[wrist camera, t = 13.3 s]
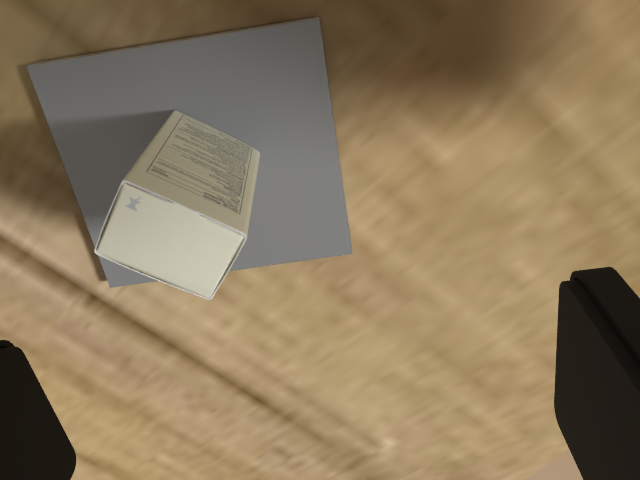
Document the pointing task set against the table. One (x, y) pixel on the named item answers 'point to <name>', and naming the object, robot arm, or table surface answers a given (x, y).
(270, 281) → the table surface
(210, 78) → the slate board
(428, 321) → the table surface
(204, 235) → the skincare box
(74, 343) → the table surface
